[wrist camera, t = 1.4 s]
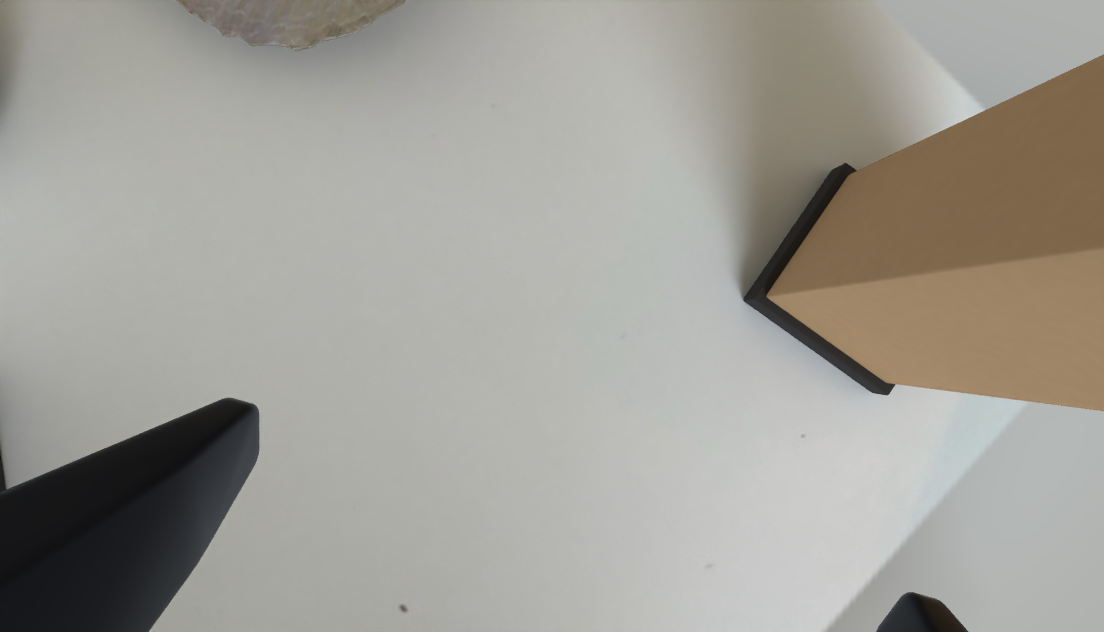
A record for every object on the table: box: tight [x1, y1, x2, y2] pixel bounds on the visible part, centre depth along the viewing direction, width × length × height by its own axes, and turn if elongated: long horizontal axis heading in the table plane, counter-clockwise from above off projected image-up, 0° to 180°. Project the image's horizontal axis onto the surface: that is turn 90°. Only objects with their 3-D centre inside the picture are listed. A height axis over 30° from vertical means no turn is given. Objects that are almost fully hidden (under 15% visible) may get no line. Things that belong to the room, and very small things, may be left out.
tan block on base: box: [744, 55, 1104, 411], centre depth 16 cm, size 6×6×16 cm
